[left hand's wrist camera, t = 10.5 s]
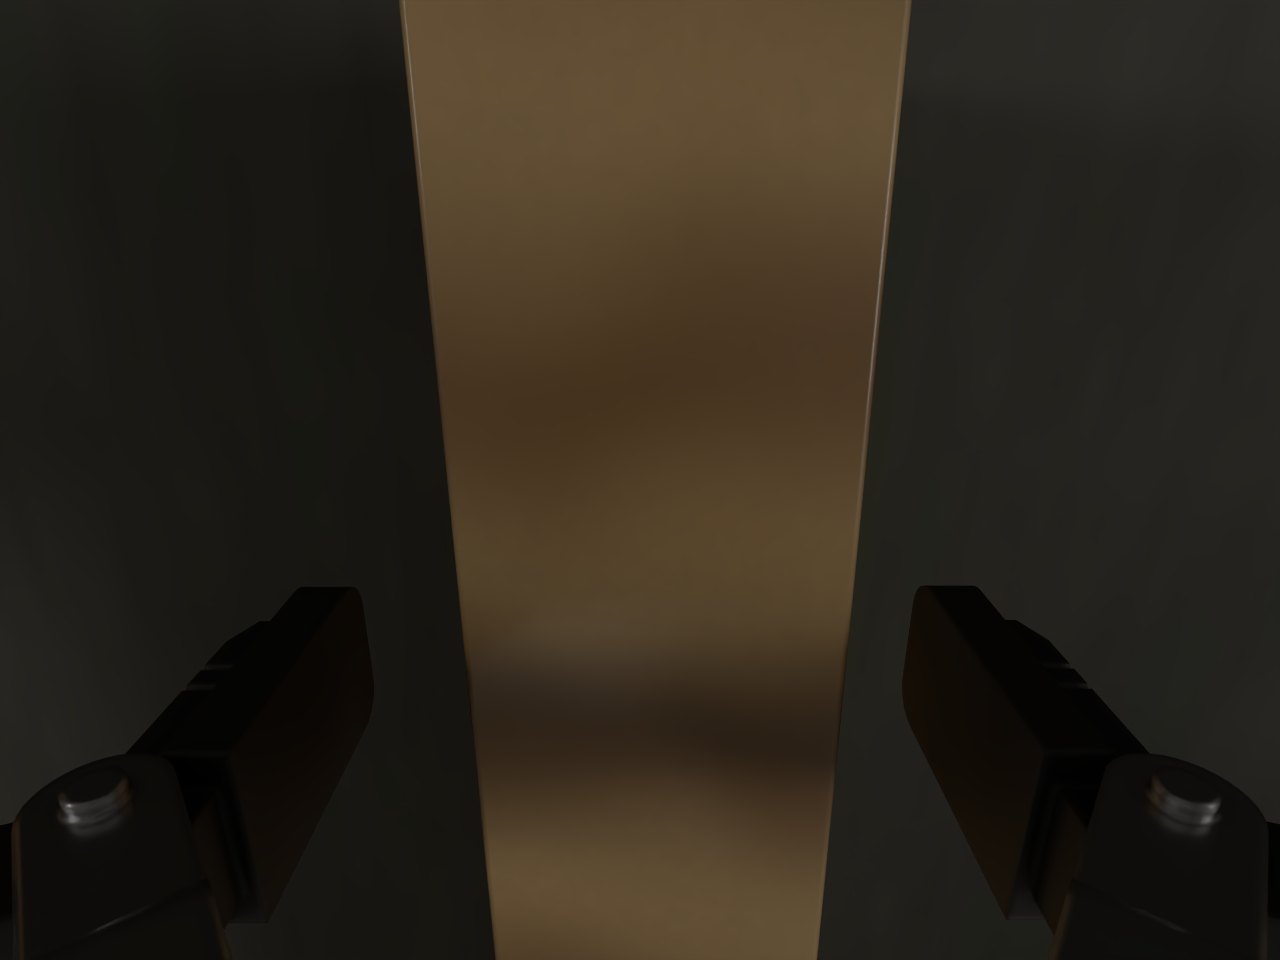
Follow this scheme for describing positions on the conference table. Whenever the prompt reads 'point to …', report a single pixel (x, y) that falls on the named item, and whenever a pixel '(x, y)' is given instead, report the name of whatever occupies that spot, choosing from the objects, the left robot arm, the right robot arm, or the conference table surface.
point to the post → (655, 443)
